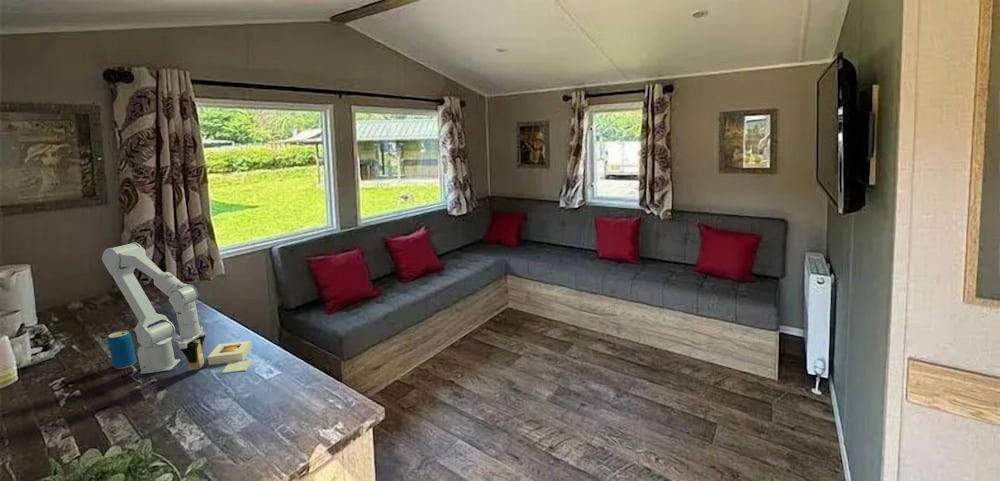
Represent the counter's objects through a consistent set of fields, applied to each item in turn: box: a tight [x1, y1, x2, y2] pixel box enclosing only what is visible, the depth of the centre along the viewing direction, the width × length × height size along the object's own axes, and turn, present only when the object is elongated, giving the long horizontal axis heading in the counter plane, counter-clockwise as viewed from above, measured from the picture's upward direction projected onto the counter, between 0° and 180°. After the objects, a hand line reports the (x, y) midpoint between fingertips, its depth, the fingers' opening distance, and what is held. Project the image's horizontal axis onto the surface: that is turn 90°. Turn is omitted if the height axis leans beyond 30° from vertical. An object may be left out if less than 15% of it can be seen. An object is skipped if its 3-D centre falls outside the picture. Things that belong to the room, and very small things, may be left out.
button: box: [222, 347, 238, 353], centre depth 174 cm, size 5×5×1 cm
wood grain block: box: [186, 339, 205, 370], centre depth 164 cm, size 4×4×9 cm
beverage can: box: [107, 330, 138, 370], centre depth 169 cm, size 6×6×12 cm
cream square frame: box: [207, 340, 253, 366], centre depth 174 cm, size 11×11×3 cm
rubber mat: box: [221, 359, 253, 375], centre depth 166 cm, size 8×8×1 cm
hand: (195, 359), depth 164 cm, fingers closed on wood grain block, 3 cm apart
